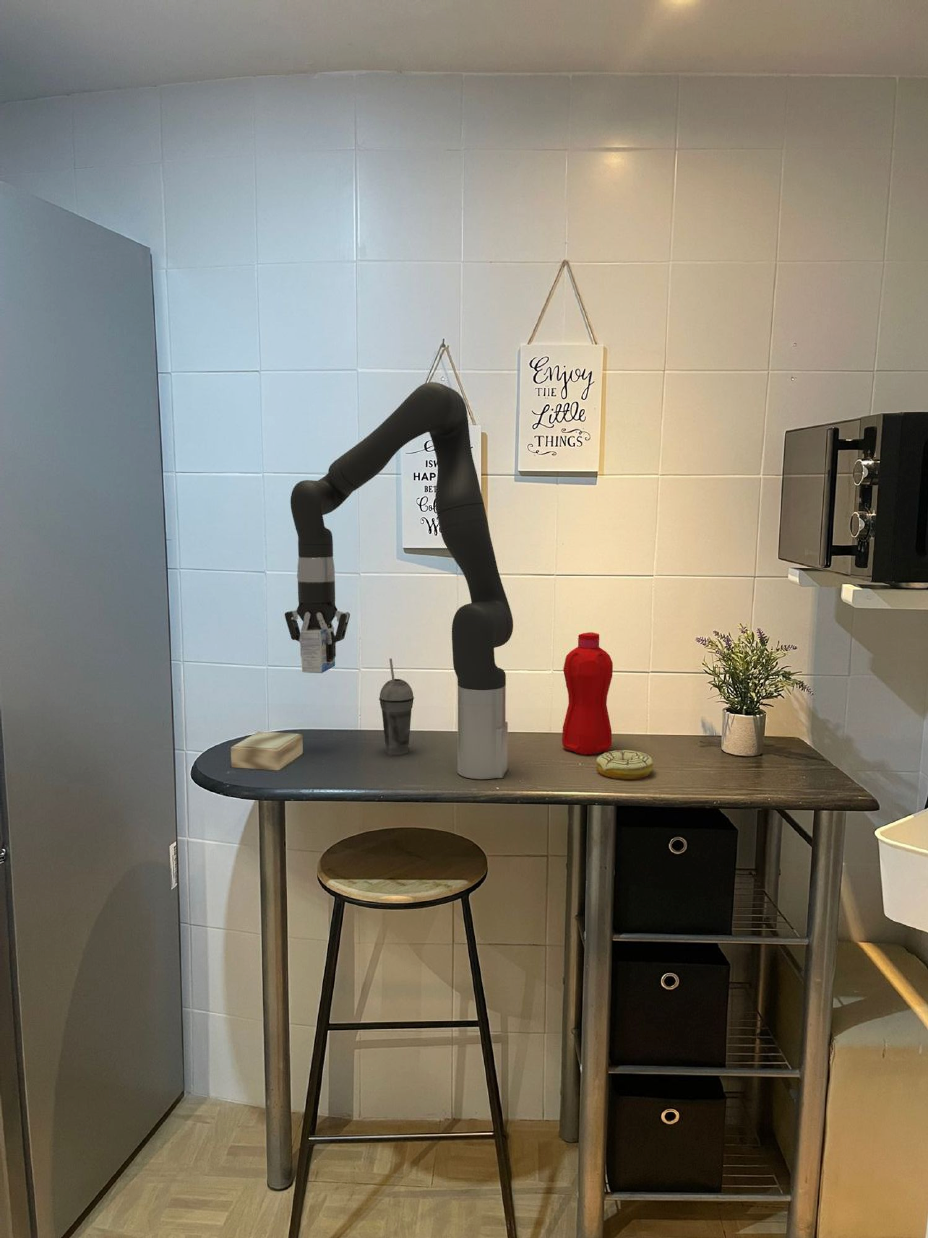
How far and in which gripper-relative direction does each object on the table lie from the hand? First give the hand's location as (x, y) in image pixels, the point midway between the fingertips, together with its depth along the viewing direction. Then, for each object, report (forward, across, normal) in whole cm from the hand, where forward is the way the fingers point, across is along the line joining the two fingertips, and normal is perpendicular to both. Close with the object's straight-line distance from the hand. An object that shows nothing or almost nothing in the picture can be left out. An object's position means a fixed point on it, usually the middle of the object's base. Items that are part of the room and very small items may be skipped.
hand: (318, 660), depth 181 cm
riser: (+19, +8, +8) cm, 23 cm away
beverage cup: (+20, -16, -3) cm, 25 cm away
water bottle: (+20, -54, -14) cm, 59 cm away
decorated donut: (+20, -63, +1) cm, 66 cm away
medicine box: (+2, 0, 0) cm, 2 cm away
